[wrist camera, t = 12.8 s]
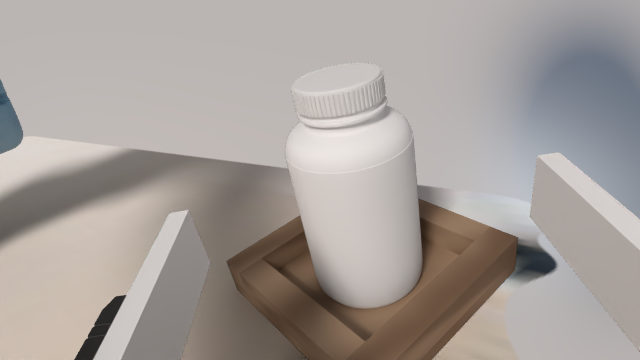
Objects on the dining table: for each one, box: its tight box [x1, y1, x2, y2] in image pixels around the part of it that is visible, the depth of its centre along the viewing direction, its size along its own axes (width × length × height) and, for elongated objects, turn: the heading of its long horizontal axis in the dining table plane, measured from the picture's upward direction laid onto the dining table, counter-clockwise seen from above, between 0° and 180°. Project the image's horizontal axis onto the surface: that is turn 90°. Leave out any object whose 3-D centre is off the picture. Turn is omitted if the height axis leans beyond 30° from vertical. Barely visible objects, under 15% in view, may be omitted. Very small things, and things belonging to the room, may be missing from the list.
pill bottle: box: [285, 63, 423, 309], centre depth 26 cm, size 8×8×15 cm
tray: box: [227, 199, 518, 360], centre depth 30 cm, size 15×15×3 cm
